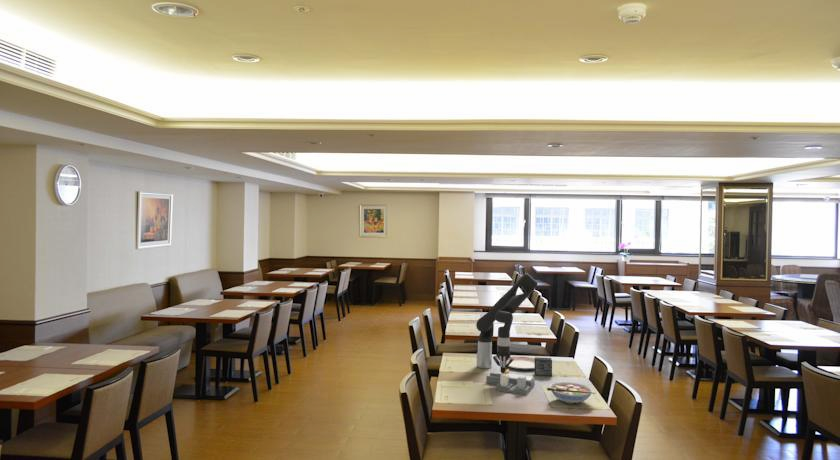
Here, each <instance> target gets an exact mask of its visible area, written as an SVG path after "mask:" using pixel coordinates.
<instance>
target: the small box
mask: <svg viewBox="0 0 840 460" xmlns="http://www.w3.org/2000/svg"><path fill="white" fill-rule="evenodd" d="M534 358H535V368H534V369H533V370H534V371H533V373H534V376H535V377H536V376H538V377H552V376H553V359H552V358H551V357H538V356H535V357H534Z"/></svg>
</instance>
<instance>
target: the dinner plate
mask: <svg viewBox="0 0 840 460" xmlns="http://www.w3.org/2000/svg"><path fill="white" fill-rule="evenodd" d="M510 357H511V358H513V359H514V360H513V361H512V362H511V364H510V365H509V366H508V367H509V368H511V369H514V370H515V369H516V370H520V371H523V370H525V371H526V370H527V371H529V370H534V368H535V357H529V356H520V355H519V356H510ZM508 362H509V359H508V360H507V362H506V364H508Z"/></svg>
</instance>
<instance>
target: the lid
mask: <svg viewBox="0 0 840 460" xmlns="http://www.w3.org/2000/svg"><path fill="white" fill-rule="evenodd" d="M504 374H509V379H514V380H517V378H518V376H524V377H526V381H529V382H530V381H531V380H532V379H534V376H531V375H530V376H529V375H523V374H517V373H510V369H509V368H506V371H505V373H504Z"/></svg>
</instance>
